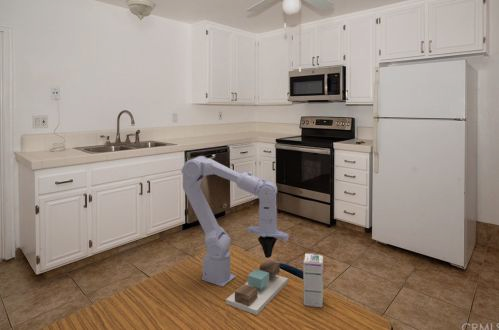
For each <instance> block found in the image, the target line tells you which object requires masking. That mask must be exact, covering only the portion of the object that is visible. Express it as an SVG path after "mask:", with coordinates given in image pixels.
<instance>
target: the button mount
mask: <svg viewBox="0 0 499 330" xmlns="http://www.w3.org/2000/svg"><path fill="white" fill-rule="evenodd" d="M288 283H289V278H287V277H284V276H281V275H278V274H277V275H276V276H275V277H274V278H270V277H269V282H268V283H267V284H266V285H265V286H264V287H263V288H262V289H260V288H257V287H255V288H257V299H256V300H255V301H254V302H253V303H252V304H251V305H250V306H247V305H244V304H242V303H239V302H236V301H235V291H234V292H233V293H231V294H230V295H229V296H228V297H227V298H226V299H225V304H226V305H228V306H230V307H234V308H236V309H239V310H242V311H244V312H246V313H249V314H253V315H255V316H258V315H259V313H261V311H262V310H263V309H264V308H265V307H266V306H267V305H268V304H269V303H270V302H271V301H272V300H273V299H274V298H275V297H276V296H277V295H278V294H279V293H280V291H281V290H283V289H284V287H285V286H286V285H287V284H288ZM244 284H246V285H248V280H247V281H246V282H245V283H244ZM249 286H251V285H249ZM252 287H254V286H252Z"/></svg>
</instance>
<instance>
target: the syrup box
mask: <svg viewBox="0 0 499 330" xmlns="http://www.w3.org/2000/svg"><path fill="white" fill-rule="evenodd" d="M302 269H303V272H302V273H303V281H302V282H303V283H302V284H303V306H306V307H314V308H323V303H324V255H323V254H320V253H305V254H304V257H303V268H302Z"/></svg>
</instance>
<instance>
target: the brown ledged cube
mask: <svg viewBox="0 0 499 330" xmlns="http://www.w3.org/2000/svg"><path fill="white" fill-rule="evenodd" d="M234 292H235V301H236V302H239V303H242V304H244V305H247V306H250V305H251V304H252V303H253V302H254V301H255V300H256V299H257V288H255V287H252V286H249V285H246V284H245V283H243V284H241V286H239V287H238V288H237V289H235V290H234Z"/></svg>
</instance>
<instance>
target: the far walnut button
mask: <svg viewBox="0 0 499 330" xmlns="http://www.w3.org/2000/svg"><path fill="white" fill-rule="evenodd" d="M280 265H281V264H280V263H279V262H276V261H271V260H268V259H266V260H265V261H263V262H262V264H260V265H259V270H261V271H265V272H268V273H269V277H270V278H274V277H275V276H276V275H278V274H279V273H280V272H281V271H280V270H281V269H280Z"/></svg>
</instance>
